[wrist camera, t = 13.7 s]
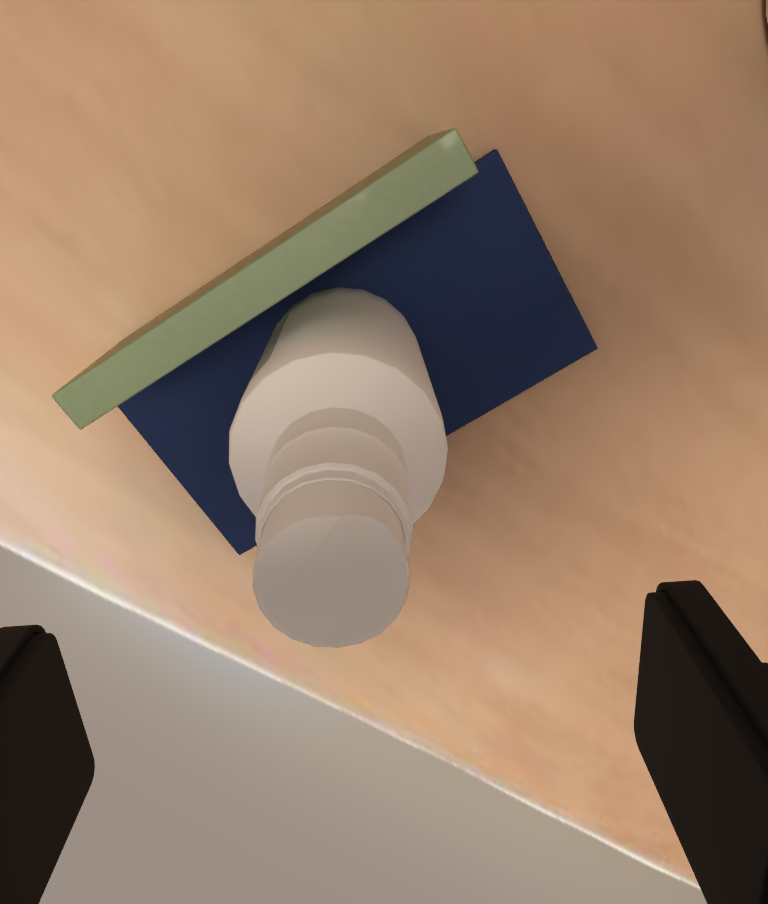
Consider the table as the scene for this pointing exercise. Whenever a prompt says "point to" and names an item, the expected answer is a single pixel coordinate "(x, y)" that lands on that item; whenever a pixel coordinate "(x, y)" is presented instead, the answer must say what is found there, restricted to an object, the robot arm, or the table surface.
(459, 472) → the table surface
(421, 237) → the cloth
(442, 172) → the backboard
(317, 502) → the white capped bottle
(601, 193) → the table surface
